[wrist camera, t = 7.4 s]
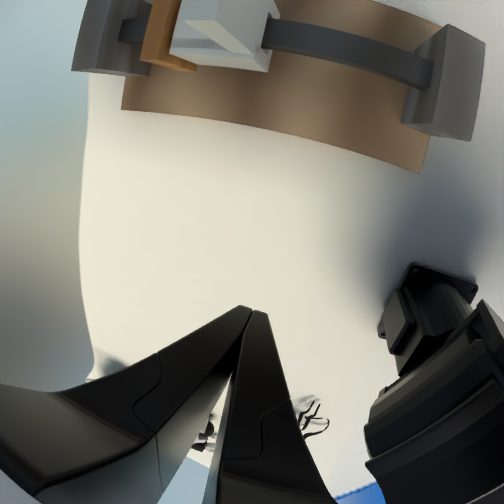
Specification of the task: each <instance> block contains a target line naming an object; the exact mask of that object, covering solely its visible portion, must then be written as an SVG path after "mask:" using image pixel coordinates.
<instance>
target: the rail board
mask: <svg viewBox="0 0 504 504" xmlns="http://www.w3.org/2000/svg"><path fill="white" fill-rule="evenodd" d="M181 2H182V0H88V1H87V5H86V8H85V11H84V15H83V19H82V22H81V26H80V31H79V35H78V39H77V43H76V48H75V53H74V58H73V63H72V69H71V71H80V72H92V73H102V74H111V75H119V76H126V79H125V85H124V92H123V98H122V105H121V110H131V111H144V112H156V113H166V114H175V115H183V116H191V117H199V118H206V119H212V120H219V121H225V122H231V123H237V124H242V125H248V126H253V127H258V128H263V129H268V130H272V131H277V132H281V133H286V134H290V135H294V136H299V137H303V138H307V139H311V140H315V141H318V142H322V143H326V144H330V145H333V146H337V147H340V148H344V149H347V150H350V151H354V152H357V153H360V154H364V155H367V156H370V157H373V158H376V159H379V160H382V161H385V162H388V163H391V164H394V165H396V166H399V167H402V168H405V169H408V170H410V171H413V172H416V173H418V174H420V172H421V168H422V165H423V161H424V158H425V154H426V150H427V146H428V143H429V139H430V135H431V136H438V137H445V138H452V139H458V140H464V141H470V142H471V138H472V133H473V129H474V124H475V119H476V114H477V108H478V103H479V97H480V90H481V83H482V75H483V67H484V56H485V43H484V42H482V41H480V40H478V39H477V38H475V37H473V36H471V35H469V34H468V33H466V32H464V31H462V30H460V29H458V28H456V27H454V26H452V25H450V24H447V25H445V26H444V27H441V26H439V25H437V24H435V23H432V22H430V21H428V20H425V19H423V18H420V17H418V16H415V15H413V14H410V13H408V12H405V11H402V10H399V9H397V8H394V7H391V6H388V5H385V4H381V3H378V2H375V1H371V0H274V2H275V4H276V7H277V9H278V11H279V13H280V19H274V18H267V21H266V25H265V30H264V34H263V39H262V43H261V48H263V49H270V50H272V55H271V59H270V64H269V69H268V73H267V72H261V71H254V70H247V69H239V68H231V67H221V66H210V65H197V64H195V63H192V62H190V61H187V60H185V59H182V58H180V57H177V56H174V55H171V54H169V51H170V46H171V42H172V38H173V33H174V29H175V25H176V21H177V17H178V13H179V10H180V6H181Z"/></svg>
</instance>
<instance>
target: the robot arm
mask: <svg viewBox="0 0 504 504" xmlns="http://www.w3.org/2000/svg"><path fill="white" fill-rule="evenodd" d="M414 268H417V270H416V271H415V272H412V270H413V269H414ZM472 287H474V288H473V289H472V290H470V289H471V288H472ZM477 291H478V285H477V284H476V283H475V282H474V281H471V280H468V279H465V278H462V277H459V276H456V275H453V274H450V273H447V272H444V271H441V270H438V269H435V268H432V267H429V266H426V265H422V264H419V263H415V262H413V263H411V264H409V266H408V267H407V270H406V272H405V274H404V276H403V279H402V281H401V283H400V285H399V287H398V288H396V289H395V290H394V292H393V294H392V296H391V298H390V300H389V302H388V305H387V307H386V309H385V311H384V313H383V315H382V322H381V324H380V326H379V328H378V331H377V332H378V336H379V337H380V338H382V339H386V340H387V345H388V350H389V352H390V354H392V355H395V360H396V366H397V371H398V376H399V377H400V378H399V379H398V380H396V381H395V382H394V383H393V384H391V385H390V386H389V387H385V388H383V389H382V390H381V391H380V392H379V396H378V399H376V400H375V402H374V404H373V405H372V407H371V409H370V414H369V420H368V423H367V424H365V426H364V437H365V443H366V447H367V451H368V454H369V457H370V460H368V461H366V462H365V466H366V468H367V469H368V470H369V471H370V473H371V474H372V475H373V476H374V477H375V479H376V481H377V483H378V484H379V486H380V488H381V490H382V493H383V495H384V498H385V501H386V504H504V322H503V321H502V319H501V318H500V317H499V316H498V315H497V314H496V313H495V312H494V311H493V309H492V308H491V307H490V306H489V305H488V304H487V303H486V302H485V301H484V300H483V299H482V300H481V301H480V302H479V303H478V304H477V305H476V306H477V308H476V309H475V310H474V311H473V309H472V307H471V306H470V304H471V302H472V301H473V299H474V297H475V295H476V293H477ZM383 331H385V333H382V332H383ZM231 374H232V375H231ZM230 377H231V378H230ZM229 379H230V382H229V386H228V391H227V395H226V400H225V404H224V409H223V413H222V418H221V422H220V427H219V431H218V435H217V440H216V444H215V449H214V453H213V458H212V462H211V466H210V471H209V475H208V480H207V484H206V489H205V493H204V497H203V502H202V504H338V503H337V502H336V501H335V500H334V499H333V497H332V496H331V495H330V493H329V492H328V490H327V488H326V486H325V484H324V482H323V480H322V478H321V476H320V473H319V471H318V469H317V467H316V465H315V462H314V460H313V458H312V456H311V454H310V451H309V449H308V447H307V445H306V442H305V440H304V437H303V435H302V432H301V430H300V428H299V425H298V421H297V418H296V415H295V412H294V409H293V405H292V401H291V399H290V394H289V391H288V387H287V383H286V380H285V376H284V373H283V369H282V365H281V362H280V358H279V354H278V351H277V347H276V343H275V340H274V336H273V332H272V329H271V325H270V321H269V318H268V315H267V313H264V312H261V311H258V310H254V311H253V310H252V309H251V308H248V307H245V306H242V305H238V306H237V307H235V308H233V309H231V310H230V311H228V312H226V313H225V314H223V315H221V316H220V317H218V318H216V319H214V320H213V321H211V322H209V323H207V324H206V325H204V326H202V327H201V328H199V329H197V330H195V331H194V332H192V333H190V334H188V335H186V336H185V337H183V338H181V339H179V340H178V341H176V342H174V343H172V344H170V345H169V346H167V347H165V348H163V349H161V350H160V351H158V352H157V353H154V354H152V355H150V356H149V357H147V358H145V359H143V360H141V361H139V362H137V363H135V364H133V365H131V366H129V367H126V368H124V369H122V370H119V371H117V372H114V373H112V374H109V375H107V376H104V377H101V378H98V379H96V380H93V381H90V382H87V383H85V384H82V385H79V386H76V387H74V388H70V389H67V390H63V391H57V392H42V391H36V390H30V389H24V388H19V387H14V386H9V385H5V384H0V504H157V503H158V501H159V499H160V498H161V496H162V493H164V491H165V490H166V488H167V486H168V485H169V483H170V481H171V480H172V478H173V477H174V475H175V473H176V472H177V470H178V468H179V467H180V465H181V463H182V462H183V460H184V458H185V457H186V455H187V453H188V452H189V450H190V448H191V446H192V445H193V443H194V441H195V440H196V438H197V436H198V434H199V433H200V431H201V429H202V427H203V426H204V424H205V422H206V421H207V419H208V417H209V415H210V413H211V412H212V410H213V408H214V406H215V405H216V403H217V401H218V399H219V397H220V396H221V394H222V392H223V390H224V388H225V387H226V385H227V383H228V381H229Z"/></svg>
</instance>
